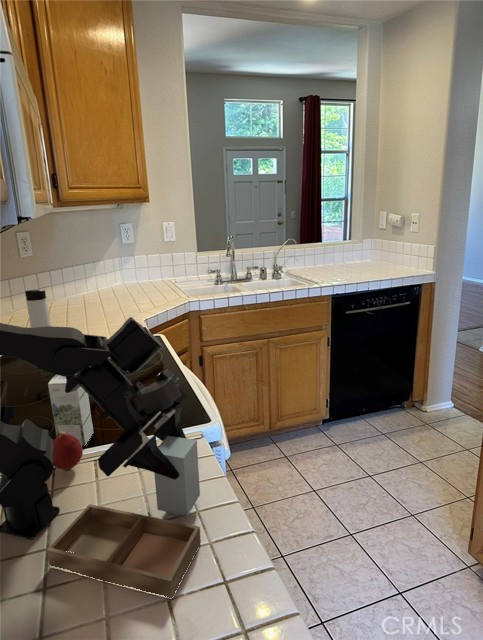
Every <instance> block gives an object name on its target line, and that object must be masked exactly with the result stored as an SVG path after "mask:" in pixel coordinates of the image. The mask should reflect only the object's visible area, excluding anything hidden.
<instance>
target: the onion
mask: <svg viewBox="0 0 483 640" xmlns="http://www.w3.org/2000/svg"><path fill="white" fill-rule="evenodd" d="M58 435H59V436H58V437H57V436H56V437H55V439H52V440H53V442H54V448H55V449H54V465H53V467H54V468H57V469H60V470H63V471H67V472H68V471H70V470H72V469H73V468H74V467H76V466H77V465H78V463H80V461H81V460H82V457H83V447H82V445H81V443H80V441H79V440H78V439H77V438H76V437H74V436H72V435H70V434H67V433H64V432H59V433H58Z"/></svg>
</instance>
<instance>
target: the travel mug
mask: <svg viewBox="0 0 483 640" xmlns="http://www.w3.org/2000/svg"><path fill="white" fill-rule="evenodd" d="M24 293H25V297H26V299H25V300H26V307H27V313H28V318H29V324H30V328H36V327H47V326H52V325H51V319H50V311H49V306H48V300H47V293H46V290H45V289H43V290H40V289H34V290H33V289H29V290H25V291H24Z"/></svg>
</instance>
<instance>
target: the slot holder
mask: <svg viewBox="0 0 483 640" xmlns="http://www.w3.org/2000/svg"><path fill="white" fill-rule="evenodd" d="M200 527H201V526H199V525H198V526H197V525H193V524H190V523H189V524H187V523H183V522H179V521H174V520H169V519H164V518H158V517H154V516H150V515H149V516H148V515H144V514H139V513H135V512H130V511H125V510H121V509H114V508H110V507H105V506H101V505H96V504H93V503H92V504H90V503H89V504H88V505H87V506H86V508H84V510H83V511H82V512H81V513H80V514H79V515H78V516H77V517H76V518H75V519H74V520H73V521H72V522H71V524H70V525H69V526H67V528H66V529H65V530H64V531H63V532H62V533H61V534H60V535H59V537H58V538H56V540H55V541H54V542H53V543H51V545H50V546H49V547H48V548H47V549H46V552H47V558H48V565H49V566H50V565H51V566H55V567H59V568H63V569H67V570H70V571H72V572H76V573H80V574H82V575H86V576H89V577H93V578H95V579H100V580H103V581H107V582H111V583H115V584H119V585H122V586H124V585H125V586H128V587H133V588H136V589H140V590H142V591H146V592H151V593H155V594H159V595H164V596H165V597H166V596H167V597H169V598H172V597H173V596H174V594H175V591H176V590H177V588H178V586H179V583H180V582H181V580H182V577H183V575H184V574H185V572H186V570H187V568H188V566H189V564H190V562H191V561H192V558H193V556H194V555H195V553H196V551H197V549H198V547H199V545H200V543H201V542H202V541H201V540H202V539H201V528H200ZM201 544H202V543H201ZM200 546H201V545H200ZM199 548H200V547H199ZM198 550H199V549H198ZM66 551H67V552H66ZM68 551H69V552H68ZM70 551H71V552H72V553H71V552H70ZM73 552H74V553H73ZM197 552H198V551H197ZM196 554H197V553H196ZM195 556H196V555H195ZM192 562H193V561H192ZM188 569H189V568H188ZM187 571H188V570H187ZM186 573H187V572H186ZM185 575H186V574H185ZM182 581H183V580H182ZM181 583H182V582H181ZM179 587H180V586H179ZM178 589H179V588H178ZM177 591H178V590H177ZM175 595H176V594H175ZM174 597H175V596H174Z"/></svg>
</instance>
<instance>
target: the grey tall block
mask: <svg viewBox="0 0 483 640" xmlns="http://www.w3.org/2000/svg"><path fill="white" fill-rule="evenodd" d="M186 438H187V437H186ZM186 438H180V437H173V436H167V437H166V438H165V439H164V440H163V441H161V443H160V444H159V445H157V447H158V449H159V450H160V451H161V452H162V453H163V454H164V456H165V457H166V458H167V459H168V460H169V461H170V462H171V464H172V465H173V466H174V467H175V468H176V470H177V471H178V473H179V474H180V475H179V477H178V478H177V479H175V480H174V479H171V478H168V477H166V476H163V475H160V474H157V473H154V472H153V473H154V485H155V494H156V505H157V506H156V507H157V511H162V512H167V513H171V514H176V515H181V516H187V517H188V516H189V514H190V513H191V511H192V509H193V507H194V506H195V504H196V503H197V501H198V499H199V497H200V496H201V489H200V487H201V486H200V474H199V473H200V472H199V457H198V456H199V454H198V440H197V439H193V438H187V439H186Z"/></svg>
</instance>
